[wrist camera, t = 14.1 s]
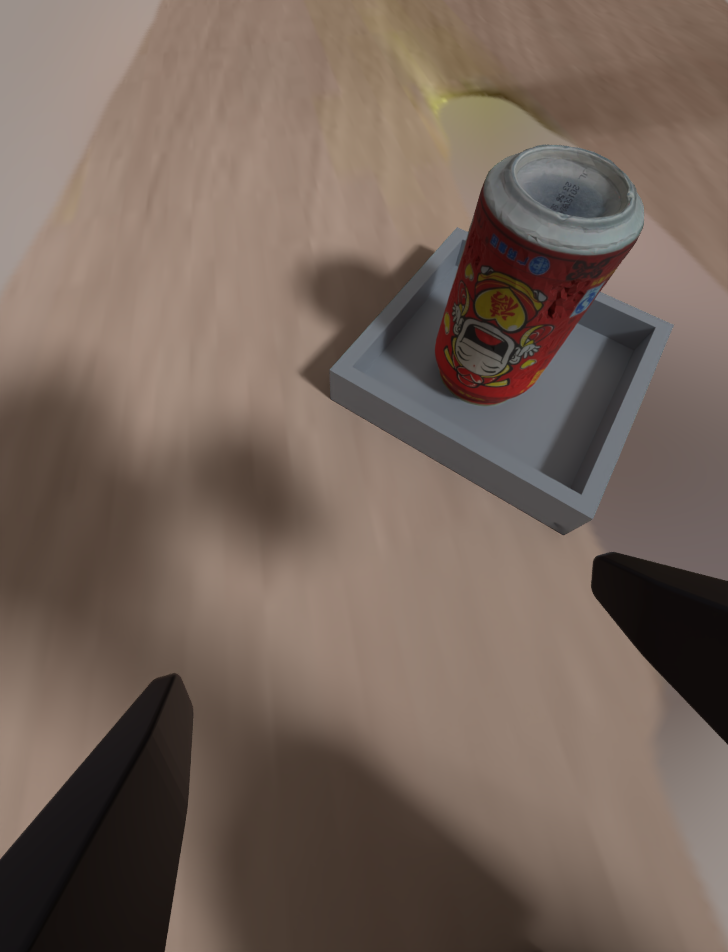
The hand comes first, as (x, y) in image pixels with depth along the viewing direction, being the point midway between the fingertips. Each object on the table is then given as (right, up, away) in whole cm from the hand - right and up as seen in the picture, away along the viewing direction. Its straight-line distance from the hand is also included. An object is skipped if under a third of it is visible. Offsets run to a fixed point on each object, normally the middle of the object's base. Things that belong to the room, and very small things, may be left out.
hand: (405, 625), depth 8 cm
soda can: (+7, +10, +19) cm, 23 cm away
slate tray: (+9, +10, +20) cm, 24 cm away
